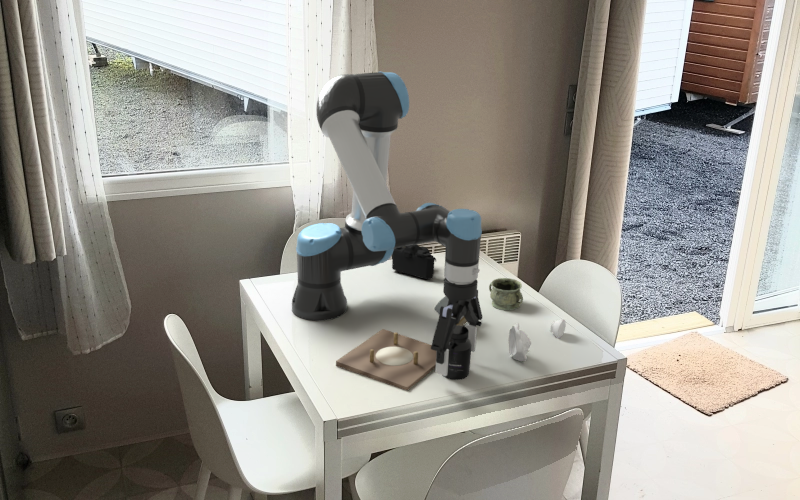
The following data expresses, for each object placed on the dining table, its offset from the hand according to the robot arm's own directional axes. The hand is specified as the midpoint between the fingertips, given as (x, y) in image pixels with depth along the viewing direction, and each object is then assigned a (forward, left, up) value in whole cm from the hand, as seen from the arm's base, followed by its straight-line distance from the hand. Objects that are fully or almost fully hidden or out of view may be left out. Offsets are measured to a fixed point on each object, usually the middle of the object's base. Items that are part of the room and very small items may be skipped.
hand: (455, 361), depth 181 cm
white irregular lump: (+12, +33, -4) cm, 35 cm away
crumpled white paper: (+10, +15, -4) cm, 19 cm away
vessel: (-7, +42, -4) cm, 43 cm away
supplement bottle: (0, 0, -4) cm, 4 cm away
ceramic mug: (-12, +23, -4) cm, 26 cm away
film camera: (-40, +48, -4) cm, 63 cm away
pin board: (-15, -3, -4) cm, 16 cm away
